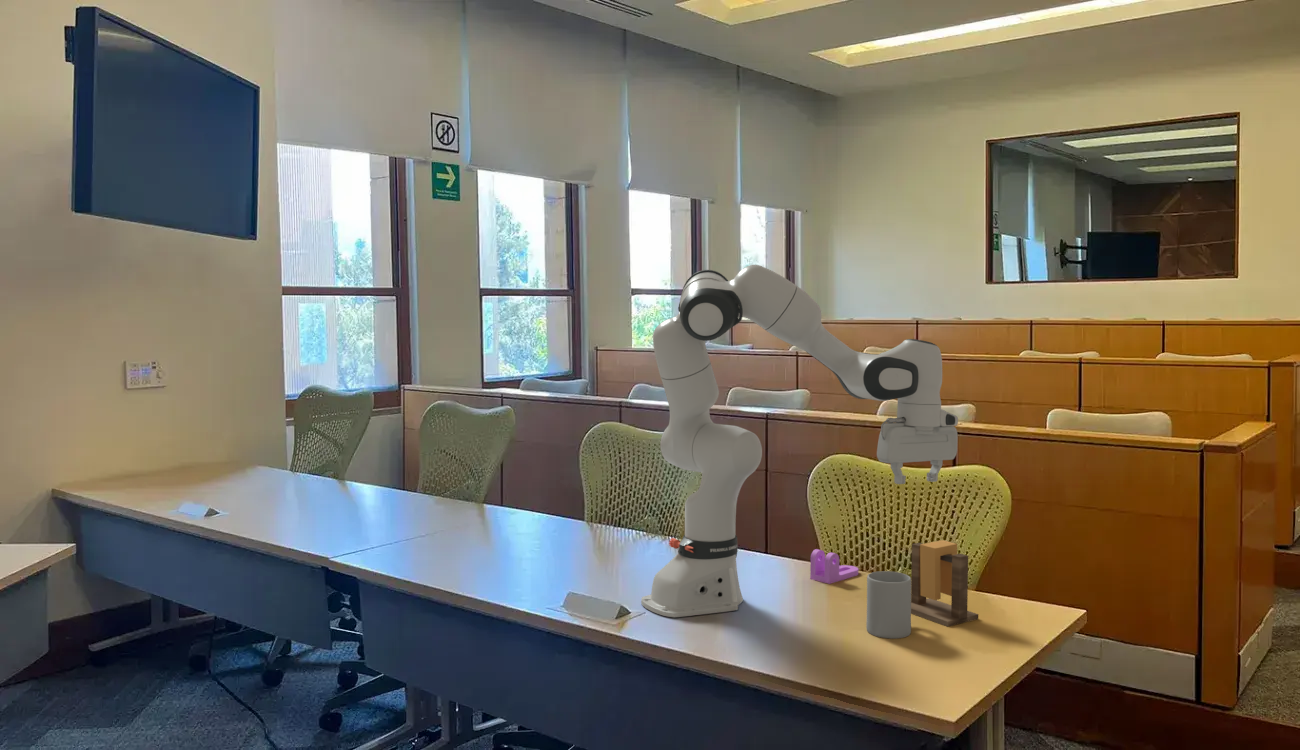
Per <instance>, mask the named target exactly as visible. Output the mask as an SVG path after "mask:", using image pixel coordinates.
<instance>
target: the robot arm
mask: <svg viewBox="0 0 1300 750" xmlns="http://www.w3.org/2000/svg"><path fill="white" fill-rule="evenodd" d="M677 310H678V313H677V315H676V316H673V317H670V318H668V319H665V320H664V321H662V322H660V323H659V324H657V326H656V327H655V328H654V329H653V334H652V343H653V351H654V357H655V362H656V365H657V369H658V374H659V376H660V379H661V380H660V381H661V382H662V386H663V390H664V393H665V396H666V399H667V404H668V409H669V423H668V425H667V426H666V428H664V431H663V433H662V434H661V438H660V442H659V443H660V447H659V448H660V452H661V454H662V457H663V459H664V460H665V461H666V462H667V463H669V464H670V465H673V466H675V467H677V468H679V469H681V470H684V471H689V472H690V471H691V472H696V473H701V480H700V484H699V487H698V489H697V491H694V492H693V493H691V494H690V495H689V496H688V497H687V499H686V500H685V503H684V535H683V536H682V539H681V541H680V540H679V539H676V538H675V537H671V538H670V539H669V541H668V545H669V546H670V548H672V549H673V548H674V549H677V554H676V555H675V556H674V557H673V558H672V559H671V560H670V561H669V562H668V563H666V564H665V565H664V567H661V569H660V570H659V571H657V573H656V574H655V575H654V577H653V580H652V585H651V594H647V595H644V596H641V599H640V600H641V601H640V603H641V605H642V607H644V608H645V609H646V610H648V611H650V612H652V613H655V614H657V615H661V616H664V617H669V618H684V617H691V616H699V615H708V614H716V613H726V612H732V611H737V610H738V609H739V605H741V603H742V602H743V600H744V598H743V595H742V591H741V588H740V582H739V575H738V567H737V555H738V551H739V550H738V549H739V548H738V536H737V535H736V520H737V517H736V515H737V503H738V498H739V494H740V491H741V488H742V486H743V485H744V483H745V481H746V480H747V478H749V476H751V475H752V474H753V473H754V472H756V470H757V468H759V466H760V463H761V461H762V458H763V447H762V443H761V440H760V438H759V437H758V435H757V434H756V433H754V432H752V431H750V430H748V429H746V428H743V427H741V426H737V425H730V424H721V423H715V422H714V421H713V420H712V419H711V415H710V413H711V412H710V409H711V408H712V407H714V406H715V404H716V402H717V401H718V399H719V396H720V389H719V386H718V382H717V379H716V376H715V372H714V368H713V366H712V361H711V360H710V356H709V353H708V348H707V345H706V341H707V342H708V341H714V340H716V339H718V338H720V337H721V336H723V335H724V334H725V333H726V332H728V331H729V330H731V329H732V328H733V327H735V326H736V325H738V324H739V323H740V322H741V321H742V319H743V318H745V319H747V320H750V321H752V322H753V323H754V324H756V325H758V326H759V327H761V328H762V329H763V330H765V331H766V332H767V333H769V334H770V335H772V336H773V337H775V338H777V339H779V340H781V341H783V342H785V343H787V344H789V345H791V346H794V347H796V348H799V349H801V350H803V351H805V352H806V353H807V354H809V356H811V357H813V358H814V359H816V360H817V361H818V362H819V363H821V364H822V365H823V366H824V367H825V368H828V369H829V370H830V371H831V372H832V373H833V374H834V375H835V377H836V378H837V380H839V383H840V385H841V386H842V388H843V389H844V390H845V392H846V393H847V394H848V395H850V396H851V397H853V398H855V399H858V400H859V399H860V400H873V401H879V402H887V401H891V400H896V399H897V409H896V410H897V411H896V417H888V418H886V420H884V421H883V422H882V424H881V426H880V432H879V435H878V442H877V446H876V447H877V449H876V457H877V460H878V461H879V462H880V463H886V464H890V469H891V470H892V474H893V476H894V479H893V482H894V483H895V484H896V485H904V484H906V479H907V478H906V477H907V475H904V474H903V472H902V469H903V465H904V463H914V462H915V463H917V462H930V465H931V467H930V469H929V472H926V481H927V482H931V483H933V482H934V483H935V482H938V480H939V479H938V477H939V473H940V471H941V469H942V466H943V461H949V460H954V459H955V458H956V456H957V453H958V441H959V440H958V439H959V438H958V437H959V435H958V430H957V427H956V426H958V424H959V418H958V416H957V415H955V414H953V413H951V412H949V411H946V410H944V409H942V400H941V399H942V398H941V395H940V394H941V388H942V386H943V385H942V384H943V358H942V353H941V349H940V347H939V346H938V345H937V344H935V343H933V342H931V341H927V340H922V339H916V338H908V339H904V340H903V341H902V342H901V343H899V344H898V345H896V346H895V347H893V348H891V349H889V350H887V351H883V352H881V353H879V354H877V353H876V354H873V353H872V354H871V353H867V352H862V351H861V352H860V351H857V350H855V349H852V348H850V347H849V346H848V345H847V344H846V343H844V342H843V341H842V340H840V339H838V338H837V337H836V336H835V335H834V334H832V333H830V331H828V330H827V328H825V326H824V325H823V323H822V310H821V307H820V305H819V304H818V302H817V301H816V300H814V298H813V297H811V295H809V294H808V293H807V292H806V291H804V290H803V289H802V288H801V287H799V286H798V285H797V284H795V283H793V282H792V281H790V280H789V279H787V278H785V277H784V276H783V275H780V274H779V273H777V272H774V271H773V270H771V269H769V268H767V267H764V266H762V265H759V264H750V265H747V266H745V267H744V268H742V269H741V270H740V271H738V272H737V274H736V275H735V276H734V277H733V278H732V279H730V280H728V279H727V277H726V276H724V275H723V274H722V273H721V272H718V271H716V270H712V269H703V270H699V271H697V272H695V273H693V274H692V275H690V277H689V278H688V279H687V280H686V282H685V284H684V286H683V287H682V291H681V295H680V299H679V303H678V308H677Z"/></svg>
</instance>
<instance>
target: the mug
mask: <svg viewBox="0 0 1300 750" xmlns="http://www.w3.org/2000/svg"><path fill="white" fill-rule="evenodd" d="M865 623H866V624H865V625H866V626H865V627H866V632H867V633H868V634H870V635H872V636H875V637H877V638H882V639H902V638H903V639H904V638H906V637H908V636H910V635H911V633H912V614H911V576H910V575H908V574H907V573H902V572H898V571H889V570H888V571H886V570H883V571H881V570H880V571H873V572H871V573H868V574H867V577H866V622H865Z"/></svg>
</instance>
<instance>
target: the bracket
mask: <svg viewBox="0 0 1300 750" xmlns="http://www.w3.org/2000/svg"><path fill="white" fill-rule="evenodd" d="M838 554H839V553H838ZM838 554H837V553H836V552H828V553H826V554H825V551H824V550H822V549H818V548H816V549H813V551H811V553H810V573H809V574H810V576H809V577H810V580H813V581H818V582H821V583H825V584H828V585H829V584H830V585H831V584H833V583H837V582H841V581H845V580H846V579H850V578H853V577H856V576H858V575H859V568H858V567H857V566H854V565H847V564H846V565H845V564H842V565H840V556H839V555H838Z"/></svg>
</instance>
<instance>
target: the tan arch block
mask: <svg viewBox="0 0 1300 750" xmlns="http://www.w3.org/2000/svg"><path fill="white" fill-rule="evenodd" d="M947 554H949V555H956V554H958V544H957V543H955V542H952V541H947V540H945V539H944V540H943V539H941V540H940V539H939V540H936V541H935V540H934V541H932V542H925V543H923V544H920V587H921V596H924V597H926V599H929V598H930V599H932V600H937V601H940V600H941V599H942V598H941V594H944V595H947V596H950V597H952V563H950V562H947V561H943V560H940V556H943V555H947Z"/></svg>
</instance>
